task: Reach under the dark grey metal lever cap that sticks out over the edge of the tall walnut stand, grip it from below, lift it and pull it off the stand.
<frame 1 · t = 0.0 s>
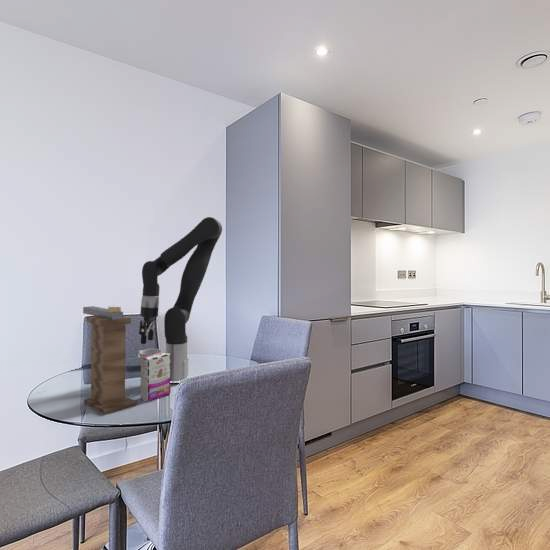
hand: (147, 341, 171), 17 cm above the table, tool pointing down, fingers open, 8 cm apart
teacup: (148, 366, 194), on the table
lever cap: (102, 315, 145), point 32 cm above the table, touching stand
candy bar box: (155, 397, 150), on the table
stand: (107, 403, 142), on the table
alcohol: (112, 364, 198), on the table
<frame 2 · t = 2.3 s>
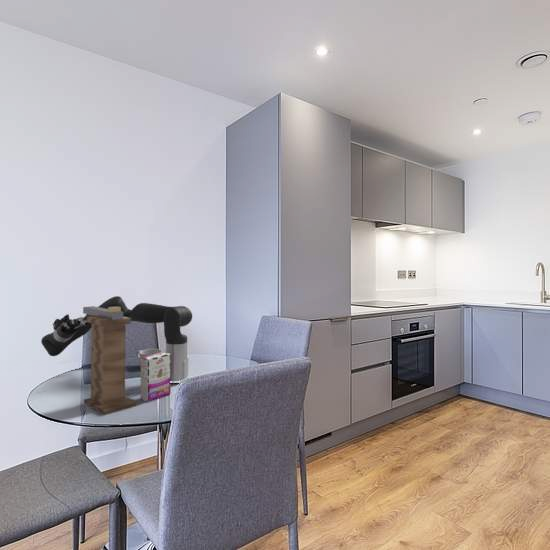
hand: (79, 315, 158), 30 cm above the table, tool pointing upward, fingers open, 8 cm apart
nothing on the table moved.
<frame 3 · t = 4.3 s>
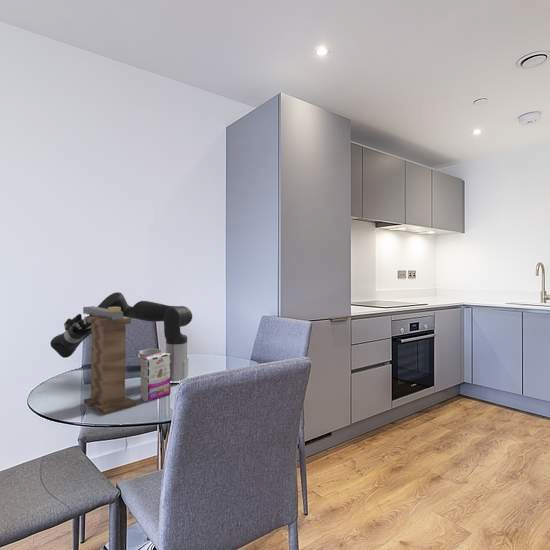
hand: (91, 315, 151), 31 cm above the table, tool pointing upward, fingers open, 8 cm apart
nothing on the table moved.
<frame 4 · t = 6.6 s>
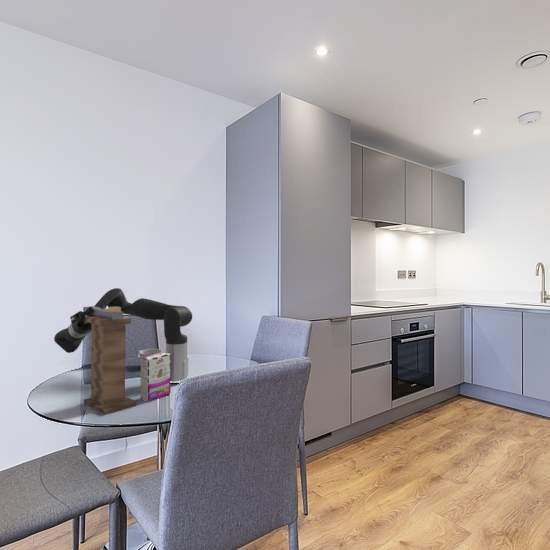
hand: (97, 308, 147), 35 cm above the table, tool pointing upward, fingers closed on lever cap, 4 cm apart
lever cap: (102, 315, 145), point 32 cm above the table, touching gripper, stand
alcohol: (112, 364, 198), on the table, touching arm
everything else where it was.
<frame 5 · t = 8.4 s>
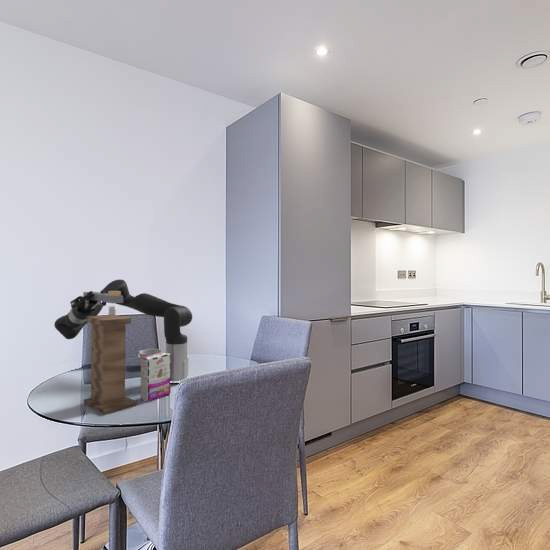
hand: (98, 293, 147), 40 cm above the table, tool pointing upward, fingers closed on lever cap, 4 cm apart
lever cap: (102, 300, 144), point 38 cm above the table, touching gripper
alcohol: (112, 364, 198), on the table
everything else where it was.
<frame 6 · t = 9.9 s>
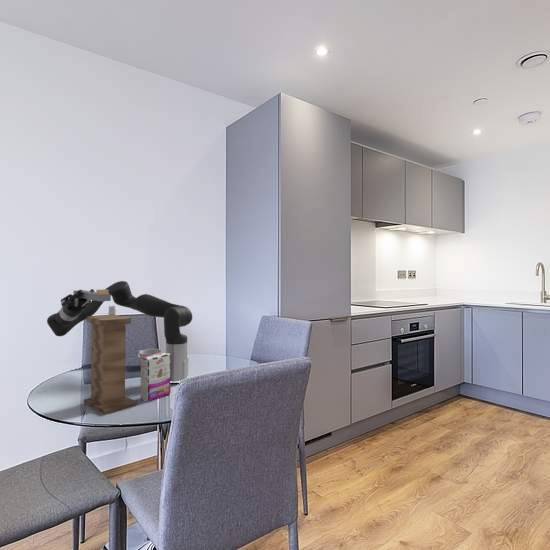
hand: (87, 291, 153), 40 cm above the table, tool pointing upward, fingers closed on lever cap, 4 cm apart
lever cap: (91, 298, 151), point 38 cm above the table, touching gripper
everything else where it was.
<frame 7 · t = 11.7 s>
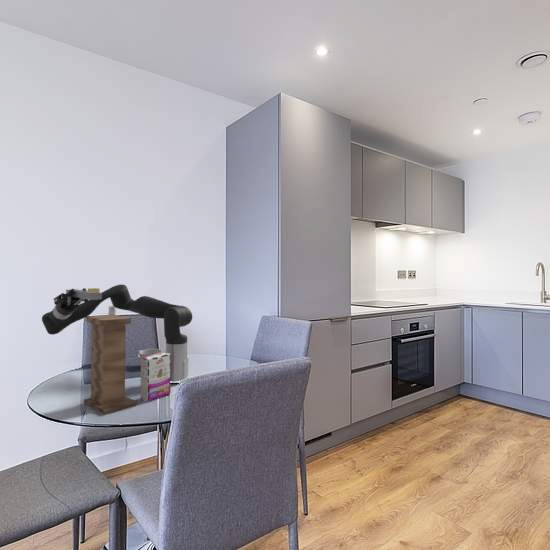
hand: (79, 290, 158), 40 cm above the table, tool pointing upward, fingers closed on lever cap, 4 cm apart
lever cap: (83, 297, 156), point 38 cm above the table, touching gripper
everything else where it was.
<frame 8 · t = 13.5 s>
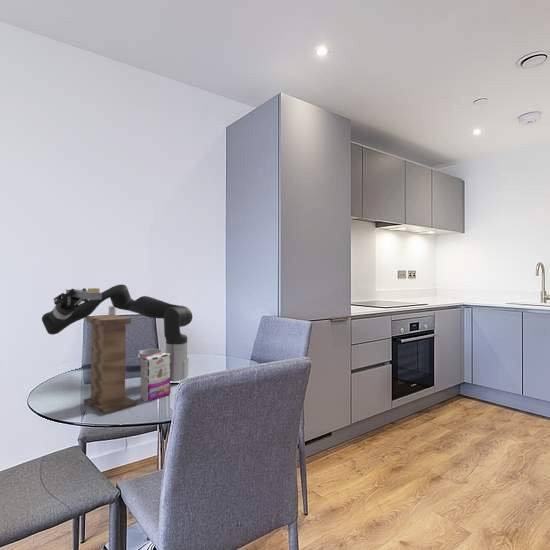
hand: (79, 290, 158), 40 cm above the table, tool pointing upward, fingers closed on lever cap, 4 cm apart
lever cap: (83, 297, 156), point 38 cm above the table, touching gripper
everything else where it was.
at the end: the gripper is holding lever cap; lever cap touching gripper; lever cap moved 17.9 cm from its start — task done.
